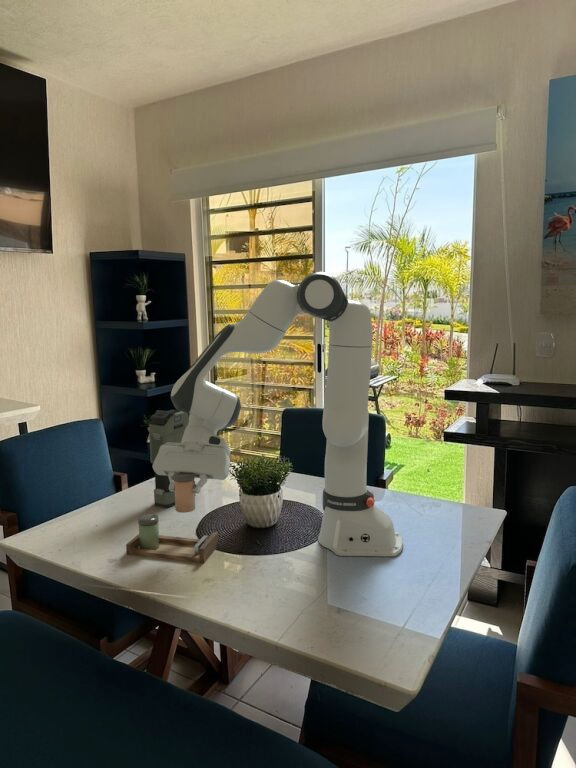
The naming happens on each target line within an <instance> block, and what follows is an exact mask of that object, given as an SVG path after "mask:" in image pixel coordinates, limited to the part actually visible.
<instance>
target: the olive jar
mask: <svg viewBox="0 0 576 768" xmlns="http://www.w3.org/2000/svg"><path fill="white" fill-rule="evenodd" d="M159 521H160V518H159V515H157V514H144V515H141V516H139V517H138V519H137V523H138V534H139V544H140V549H148V550H157V549H158V548H159V535H160V529H159V528H160V527H159Z"/></svg>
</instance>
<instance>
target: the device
mask: <svg viewBox="0 0 576 768" xmlns="http://www.w3.org/2000/svg"><path fill="white" fill-rule="evenodd" d="M149 420H150V422H149V424H148V429H149V430H148V431H149V433H148V434H149V452H150V454H149V455H150V460H149V461H150V464H153V463H154V460H155V458H156V456H157V454H158V452H159V449H160V447H161V445H163V444H166V443H167V442H171V443H181V441H182V437H183V434H184V431H185V428H186V427H187V425H188V423H189V414H188V413H185V412H182V411H179V410H177V409H168V410H161V409H157V410H155V413H154V414H153V415H151V416H150V418H149ZM154 481H155V482H154V483H155V484H154V486H155V488H154V490H153V497H154V498H153V499H154V501H153V502H154V506H155V507H159V508H163V509H168V508H172V507H175V491H170V490H169V485H170V481H169V477H168V476H165V475H158V474H156V472H155V471H154ZM194 483H195V484H196V481H195V480H194Z"/></svg>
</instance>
